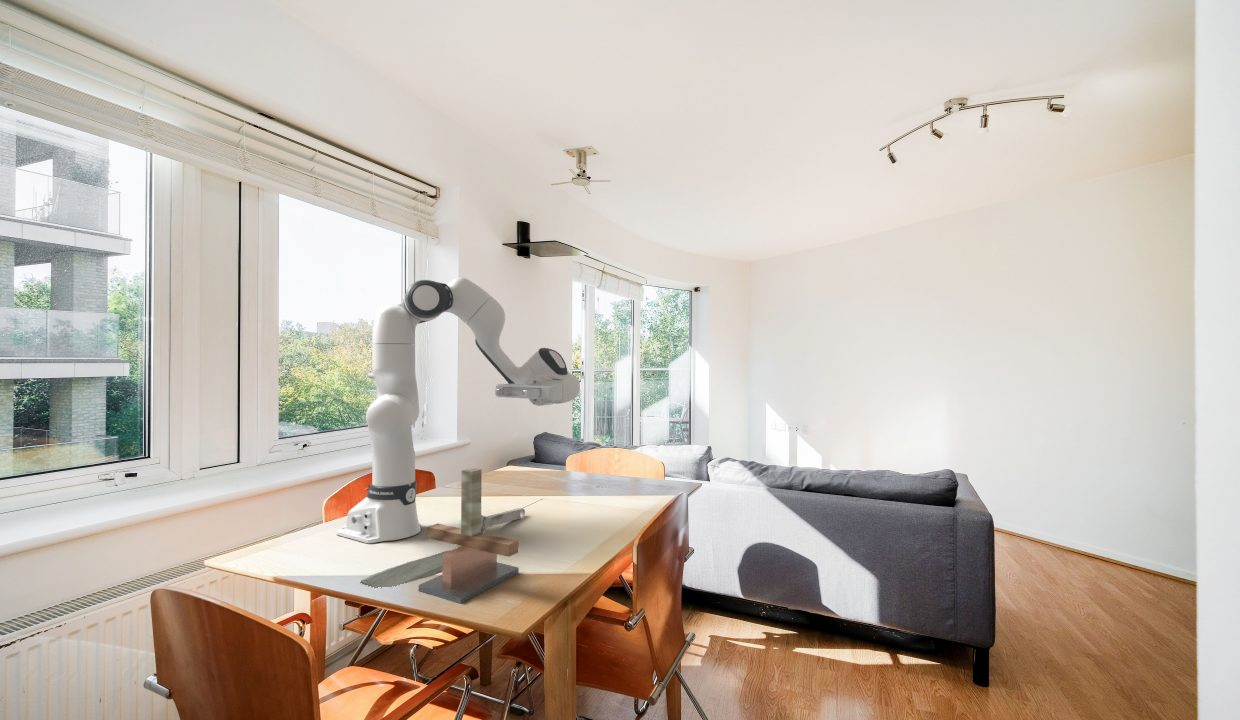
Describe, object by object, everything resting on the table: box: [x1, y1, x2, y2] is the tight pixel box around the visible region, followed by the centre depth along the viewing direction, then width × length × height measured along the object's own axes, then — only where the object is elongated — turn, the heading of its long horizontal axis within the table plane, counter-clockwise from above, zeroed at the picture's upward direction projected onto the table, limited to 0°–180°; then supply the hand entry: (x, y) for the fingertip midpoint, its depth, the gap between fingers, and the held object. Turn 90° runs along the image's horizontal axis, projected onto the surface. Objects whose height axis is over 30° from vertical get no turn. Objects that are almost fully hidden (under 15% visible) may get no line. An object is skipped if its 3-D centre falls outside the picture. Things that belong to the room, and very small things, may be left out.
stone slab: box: [360, 550, 449, 589], centre depth 124 cm, size 22×3×10 cm
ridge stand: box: [418, 546, 520, 604], centre depth 118 cm, size 12×18×8 cm, turn 151°
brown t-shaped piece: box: [426, 467, 519, 558], centre depth 118 cm, size 24×3×16 cm, turn 61°
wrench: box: [481, 507, 526, 533], centre depth 155 cm, size 8×2×30 cm
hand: (510, 392), depth 145 cm, fingers open, 8 cm apart
